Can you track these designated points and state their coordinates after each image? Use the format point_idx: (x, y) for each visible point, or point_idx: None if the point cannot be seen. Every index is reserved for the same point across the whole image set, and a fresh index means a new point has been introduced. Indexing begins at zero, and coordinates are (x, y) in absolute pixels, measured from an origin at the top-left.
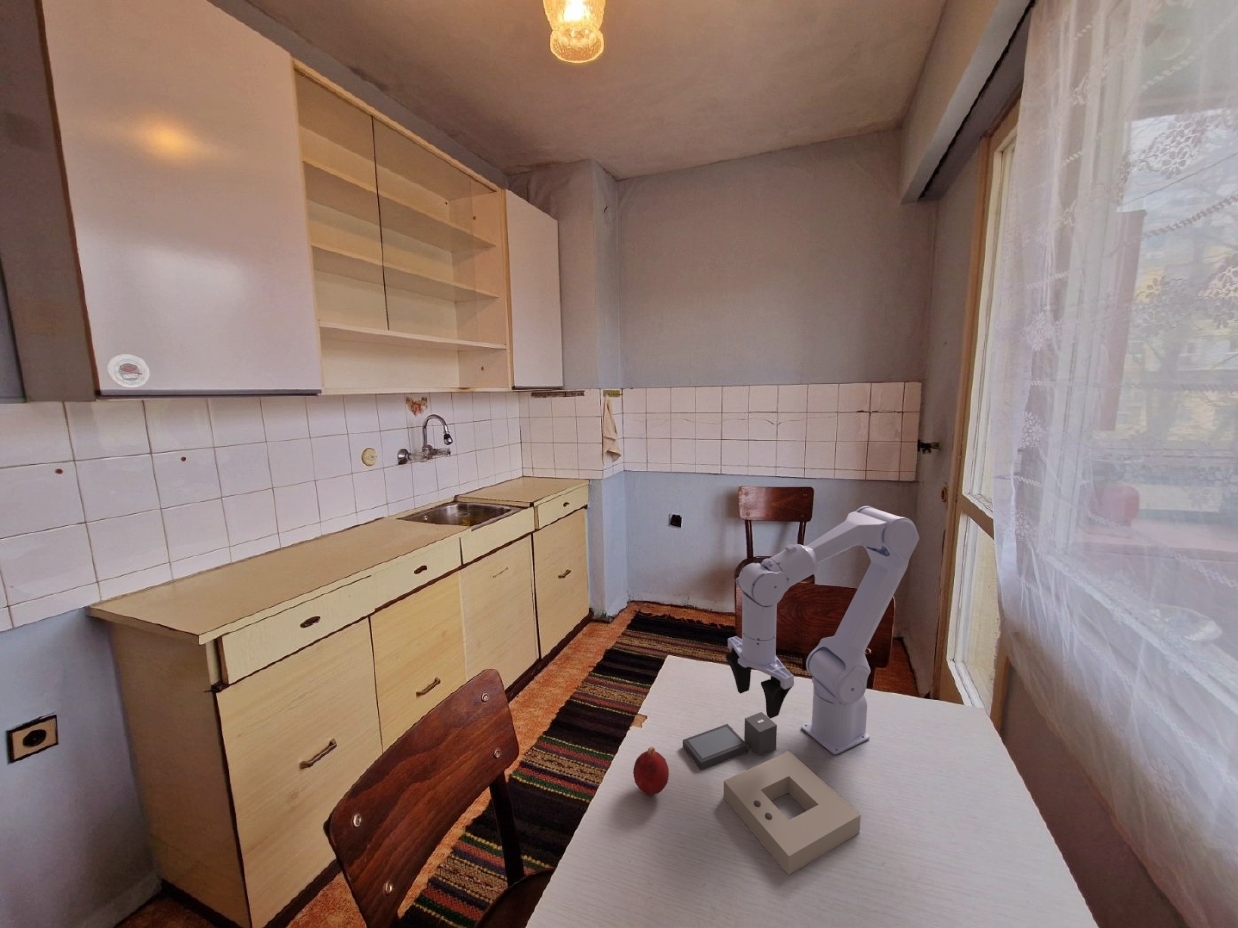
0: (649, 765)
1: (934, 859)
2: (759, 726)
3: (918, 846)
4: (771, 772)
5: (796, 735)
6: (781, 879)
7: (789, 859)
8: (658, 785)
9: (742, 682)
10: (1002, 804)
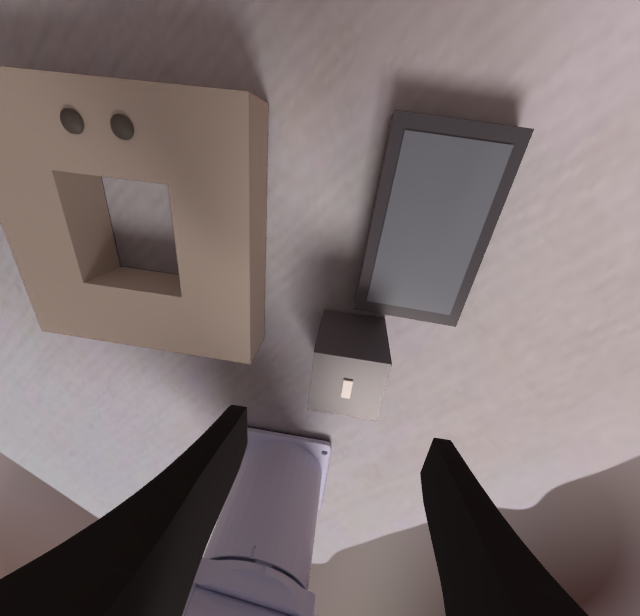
0: None
1: (17, 357)
2: (332, 369)
3: (40, 360)
4: (209, 267)
5: (322, 419)
6: (2, 48)
7: None
8: None
9: (446, 503)
10: (81, 490)
